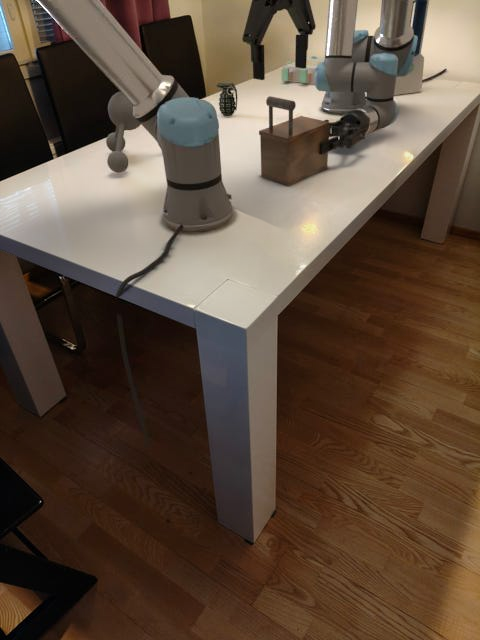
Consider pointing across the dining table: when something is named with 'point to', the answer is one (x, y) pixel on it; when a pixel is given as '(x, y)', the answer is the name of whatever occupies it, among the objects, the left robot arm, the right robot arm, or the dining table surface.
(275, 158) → the chest
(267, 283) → the dining table surface
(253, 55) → the left robot arm
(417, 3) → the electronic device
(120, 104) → the molecular model
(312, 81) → the decorative block
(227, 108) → the grenade
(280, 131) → the lid
